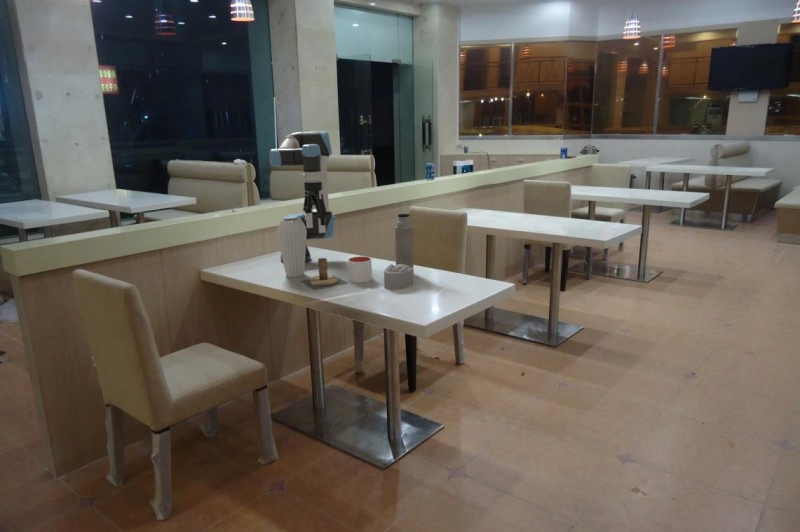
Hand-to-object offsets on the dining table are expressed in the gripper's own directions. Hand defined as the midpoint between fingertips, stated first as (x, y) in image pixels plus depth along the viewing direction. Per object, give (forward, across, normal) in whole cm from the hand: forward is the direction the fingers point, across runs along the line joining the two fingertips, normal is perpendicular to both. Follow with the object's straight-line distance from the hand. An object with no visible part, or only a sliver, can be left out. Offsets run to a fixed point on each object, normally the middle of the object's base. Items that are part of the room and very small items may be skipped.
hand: (315, 230), depth 246 cm
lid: (+22, +7, -1) cm, 23 cm away
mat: (+23, +7, -1) cm, 24 cm away
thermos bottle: (+23, +16, +35) cm, 45 cm away
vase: (+23, -12, -6) cm, 27 cm away
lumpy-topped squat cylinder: (+23, +28, +24) cm, 43 cm away
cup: (+23, +13, +14) cm, 30 cm away
